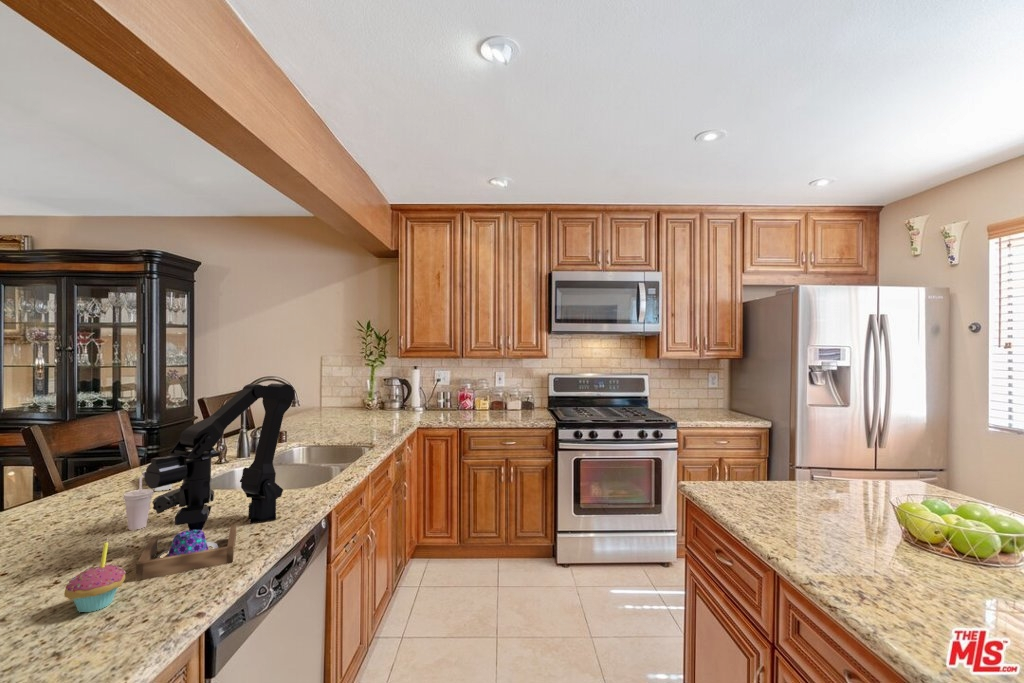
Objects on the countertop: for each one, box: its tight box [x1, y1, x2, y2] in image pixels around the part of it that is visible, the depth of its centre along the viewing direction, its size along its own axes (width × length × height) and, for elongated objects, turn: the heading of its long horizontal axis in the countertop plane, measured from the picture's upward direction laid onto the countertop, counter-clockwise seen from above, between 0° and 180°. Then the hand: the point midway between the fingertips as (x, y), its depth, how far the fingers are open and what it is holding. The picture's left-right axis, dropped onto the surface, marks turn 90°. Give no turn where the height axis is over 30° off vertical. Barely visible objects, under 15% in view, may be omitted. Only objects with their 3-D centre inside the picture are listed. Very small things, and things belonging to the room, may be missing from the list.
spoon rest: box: [141, 470, 173, 492], centre depth 160 cm, size 24×12×7 cm, turn 41°
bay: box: [134, 524, 237, 581], centre depth 104 cm, size 17×15×4 cm
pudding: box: [156, 529, 219, 559], centre depth 106 cm, size 12×12×5 cm
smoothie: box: [122, 475, 155, 531], centre depth 120 cm, size 6×6×14 cm
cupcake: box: [64, 537, 126, 613], centre depth 84 cm, size 9×8×12 cm
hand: (194, 539), depth 110 cm, fingers closed
